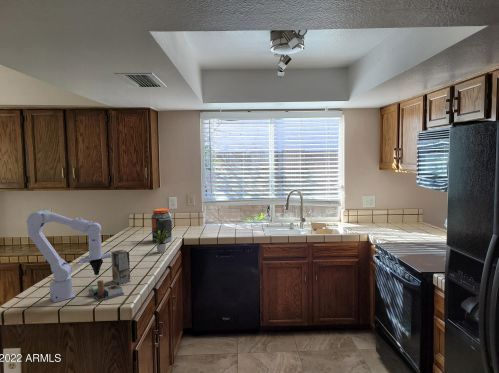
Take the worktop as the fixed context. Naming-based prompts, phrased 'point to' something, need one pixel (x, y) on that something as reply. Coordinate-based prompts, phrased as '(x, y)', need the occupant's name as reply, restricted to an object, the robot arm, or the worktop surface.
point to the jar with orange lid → (161, 223)
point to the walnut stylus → (100, 288)
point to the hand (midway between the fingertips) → (96, 274)
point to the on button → (95, 288)
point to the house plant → (161, 241)
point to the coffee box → (120, 266)
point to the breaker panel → (108, 292)
